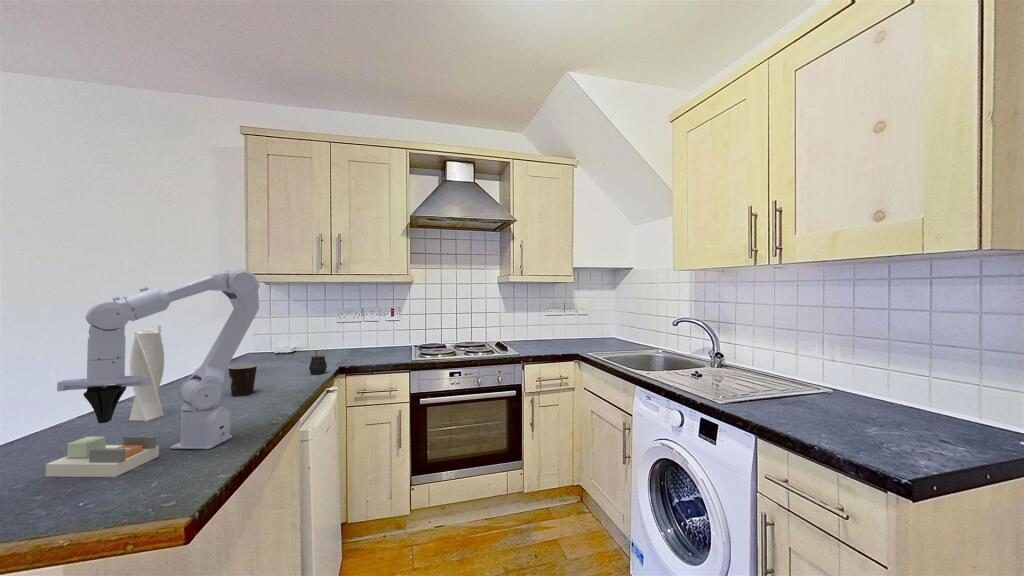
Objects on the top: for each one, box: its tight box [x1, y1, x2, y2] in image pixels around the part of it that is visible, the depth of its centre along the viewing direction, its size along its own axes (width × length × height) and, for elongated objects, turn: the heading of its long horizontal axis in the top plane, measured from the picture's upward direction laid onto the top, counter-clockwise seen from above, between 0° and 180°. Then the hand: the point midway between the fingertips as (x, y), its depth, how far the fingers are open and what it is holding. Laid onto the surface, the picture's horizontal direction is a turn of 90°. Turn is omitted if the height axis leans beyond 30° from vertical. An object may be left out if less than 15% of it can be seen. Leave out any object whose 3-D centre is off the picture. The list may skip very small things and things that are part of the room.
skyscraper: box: [124, 323, 169, 423], centre depth 118 cm, size 8×8×28 cm
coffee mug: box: [227, 364, 258, 397], centre depth 144 cm, size 12×9×10 cm
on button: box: [66, 436, 107, 459], centre depth 86 cm, size 4×4×3 cm
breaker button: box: [115, 445, 142, 459], centre depth 86 cm, size 4×4×3 cm
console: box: [45, 435, 160, 478], centre depth 86 cm, size 14×10×5 cm
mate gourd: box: [308, 350, 328, 375], centre depth 182 cm, size 7×8×10 cm
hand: (104, 421), depth 86 cm, fingers closed
